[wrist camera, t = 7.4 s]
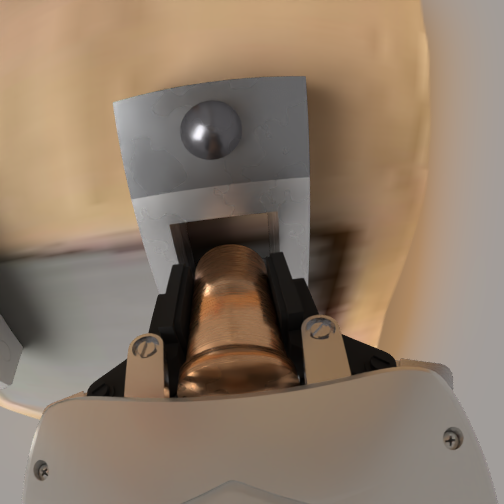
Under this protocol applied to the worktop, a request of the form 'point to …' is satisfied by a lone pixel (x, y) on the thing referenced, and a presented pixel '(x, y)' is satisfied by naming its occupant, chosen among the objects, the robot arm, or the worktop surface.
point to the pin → (233, 329)
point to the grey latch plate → (218, 164)
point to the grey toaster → (8, 354)
